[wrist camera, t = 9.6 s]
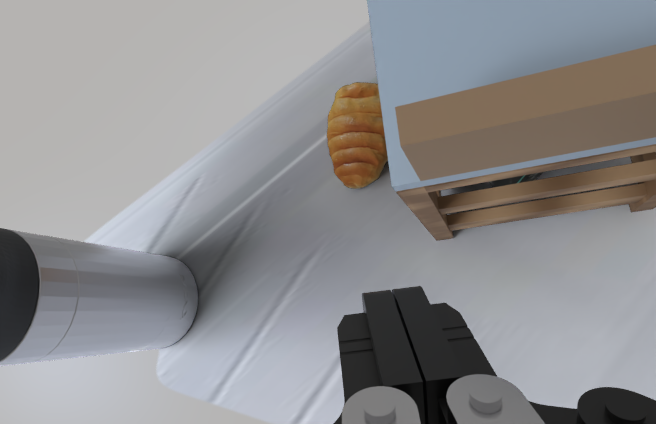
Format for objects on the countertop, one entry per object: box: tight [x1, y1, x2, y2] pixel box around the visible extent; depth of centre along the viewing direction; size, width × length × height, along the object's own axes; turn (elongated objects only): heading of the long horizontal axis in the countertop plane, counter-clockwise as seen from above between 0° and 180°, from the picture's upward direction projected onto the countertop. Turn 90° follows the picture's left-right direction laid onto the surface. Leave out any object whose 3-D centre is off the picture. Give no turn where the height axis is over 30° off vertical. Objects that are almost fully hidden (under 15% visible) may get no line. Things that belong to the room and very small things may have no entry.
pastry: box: [327, 82, 388, 189], centre depth 42 cm, size 9×7×4 cm
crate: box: [396, 144, 656, 240], centre depth 31 cm, size 16×18×17 cm
